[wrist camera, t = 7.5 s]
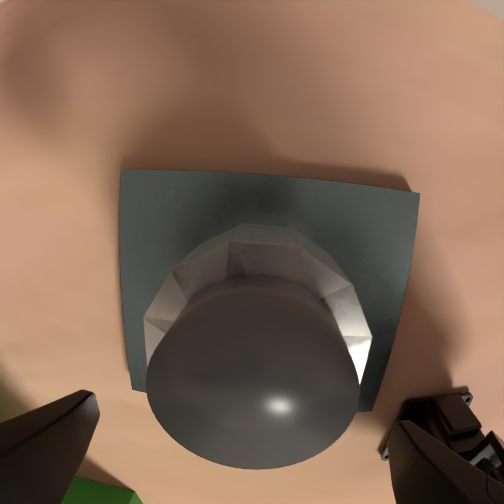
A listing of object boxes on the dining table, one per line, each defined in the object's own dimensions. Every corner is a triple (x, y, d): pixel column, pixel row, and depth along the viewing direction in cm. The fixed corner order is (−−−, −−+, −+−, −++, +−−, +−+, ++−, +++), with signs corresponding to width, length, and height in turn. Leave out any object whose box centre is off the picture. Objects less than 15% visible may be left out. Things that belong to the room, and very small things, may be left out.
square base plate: (368, 402, 19) (390, 464, 13) (137, 381, 20) (101, 437, 14) (412, 192, 16) (471, 199, 10) (128, 170, 17) (67, 168, 11)
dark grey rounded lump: (319, 391, 15) (333, 471, 10) (188, 379, 15) (156, 454, 10) (342, 264, 13) (382, 314, 8) (187, 251, 14) (137, 294, 8)
